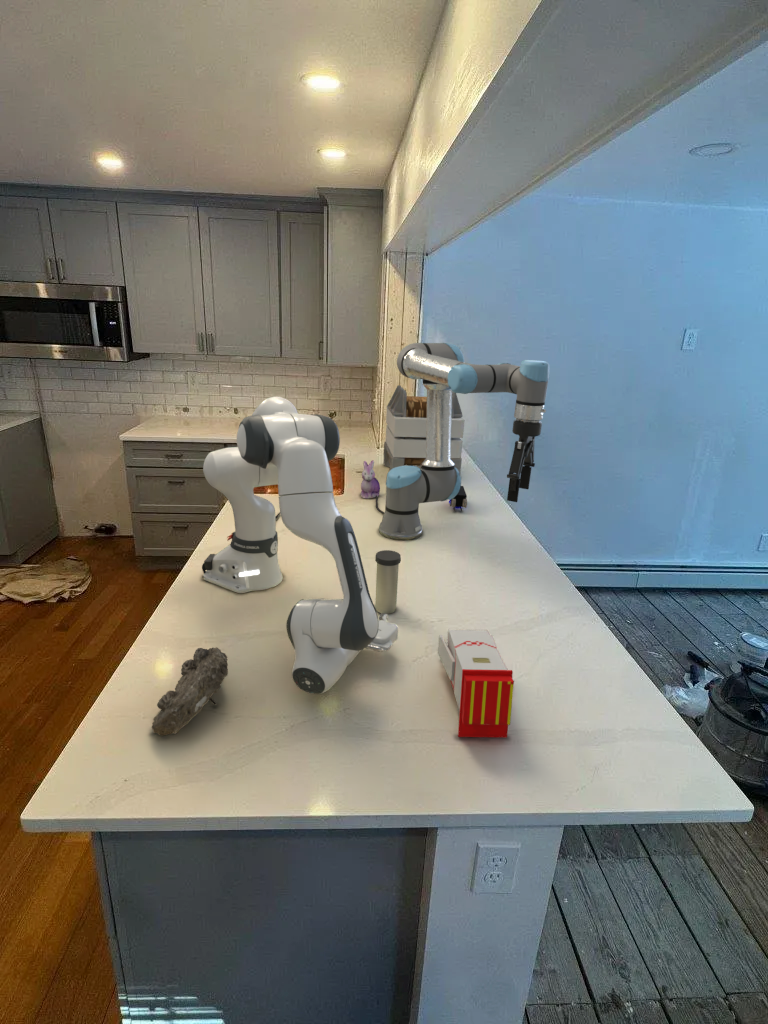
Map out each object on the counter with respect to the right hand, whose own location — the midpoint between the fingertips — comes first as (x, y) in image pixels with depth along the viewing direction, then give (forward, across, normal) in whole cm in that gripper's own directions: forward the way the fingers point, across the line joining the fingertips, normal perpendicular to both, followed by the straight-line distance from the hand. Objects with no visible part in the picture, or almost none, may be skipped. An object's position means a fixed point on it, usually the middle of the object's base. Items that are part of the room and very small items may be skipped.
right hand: (518, 494), depth 160 cm
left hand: (+21, -47, +23) cm, 56 cm away
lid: (+12, -34, +24) cm, 43 cm away
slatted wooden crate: (+27, +92, +67) cm, 117 cm away
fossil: (+27, -86, +40) cm, 99 cm away
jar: (+27, -34, +24) cm, 49 cm away
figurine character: (+27, +54, +35) cm, 70 cm away
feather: (+27, +9, +89) cm, 93 cm away
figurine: (+27, +48, +71) cm, 90 cm away
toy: (+27, -56, -7) cm, 63 cm away
